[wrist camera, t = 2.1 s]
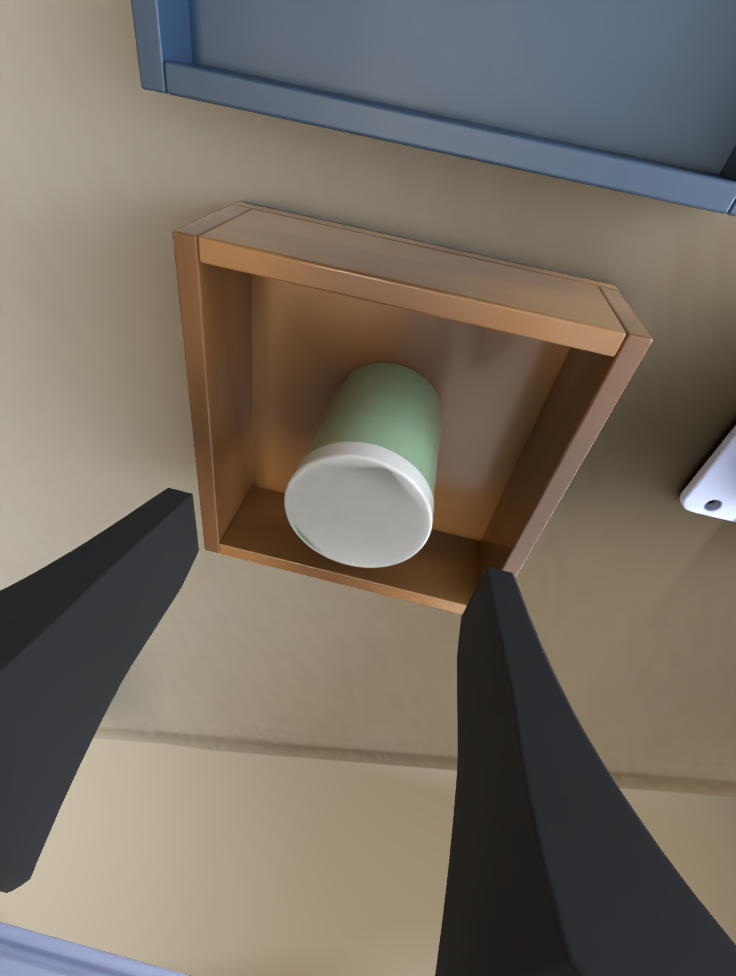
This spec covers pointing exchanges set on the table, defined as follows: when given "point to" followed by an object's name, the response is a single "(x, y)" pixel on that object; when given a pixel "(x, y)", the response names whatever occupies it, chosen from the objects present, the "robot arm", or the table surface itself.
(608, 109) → the tray
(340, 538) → the shaker
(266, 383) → the open wooden box
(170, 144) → the table surface
